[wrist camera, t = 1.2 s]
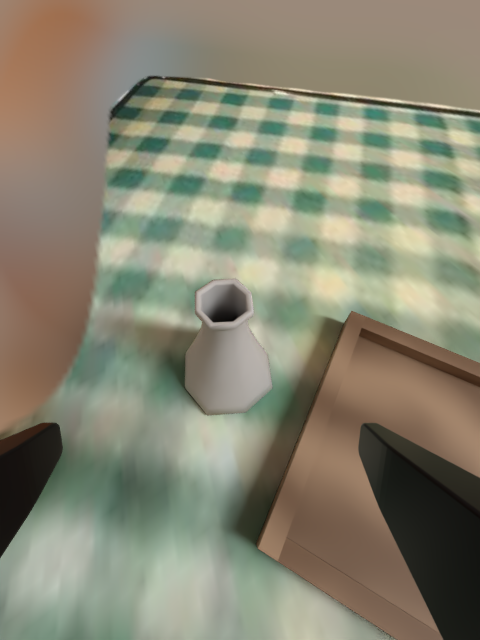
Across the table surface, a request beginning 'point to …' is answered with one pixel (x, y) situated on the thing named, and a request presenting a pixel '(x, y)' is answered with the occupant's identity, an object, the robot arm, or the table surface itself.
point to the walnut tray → (349, 474)
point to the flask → (226, 351)
